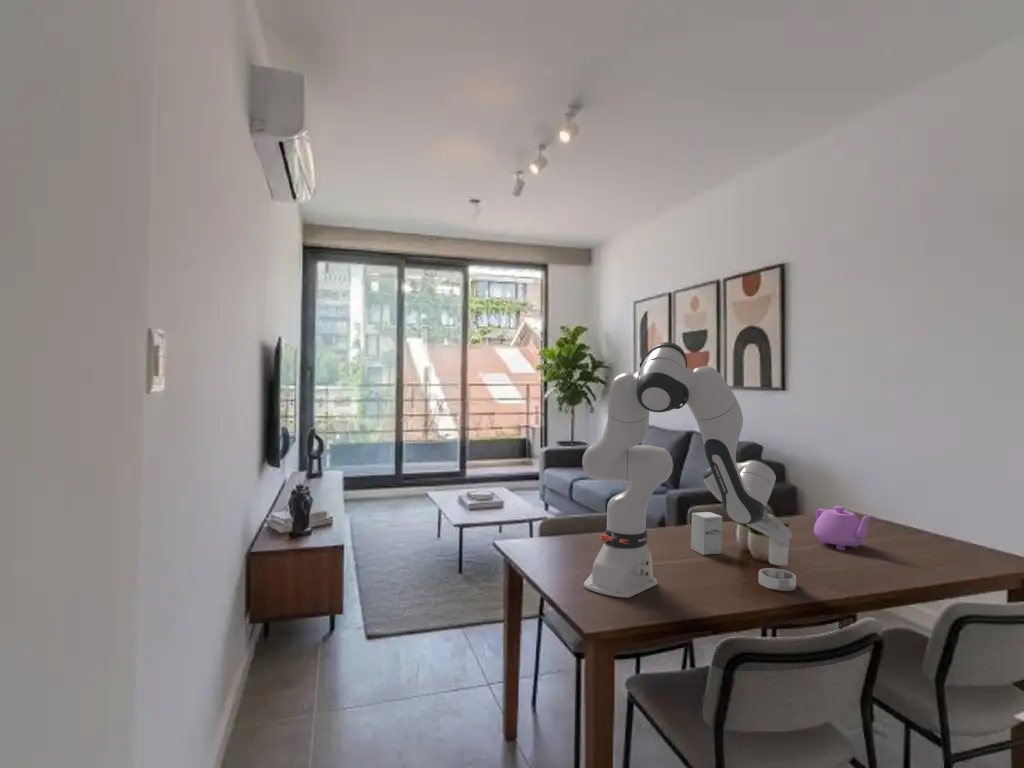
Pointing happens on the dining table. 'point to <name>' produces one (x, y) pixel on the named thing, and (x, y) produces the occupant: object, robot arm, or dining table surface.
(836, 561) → the dining table surface
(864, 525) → the teapot
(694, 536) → the supplement box
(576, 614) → the dining table surface
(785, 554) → the white cylinder
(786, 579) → the collar
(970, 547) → the dining table surface
